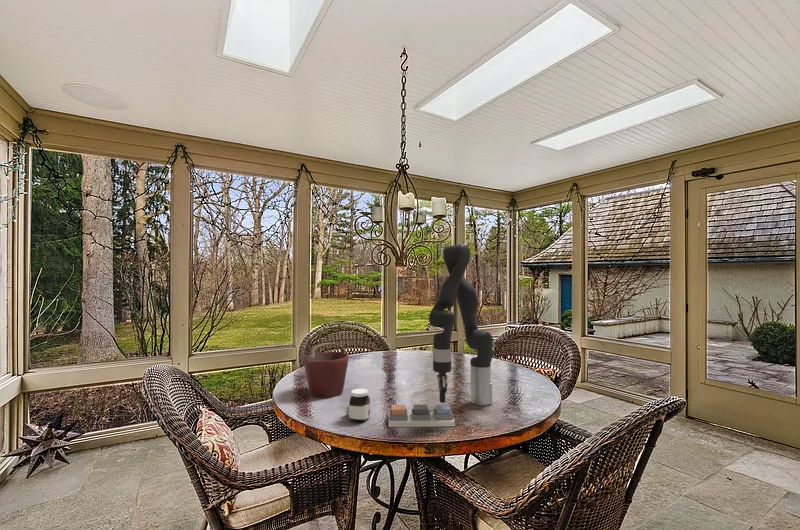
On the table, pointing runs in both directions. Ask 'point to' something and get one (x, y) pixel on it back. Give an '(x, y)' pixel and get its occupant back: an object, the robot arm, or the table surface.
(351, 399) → the spread jar
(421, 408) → the charcoal key
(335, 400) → the table surface
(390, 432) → the table surface
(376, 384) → the table surface
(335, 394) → the bucket
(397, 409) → the terracotta key
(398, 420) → the key panel
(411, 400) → the table surface
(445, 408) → the slate key
